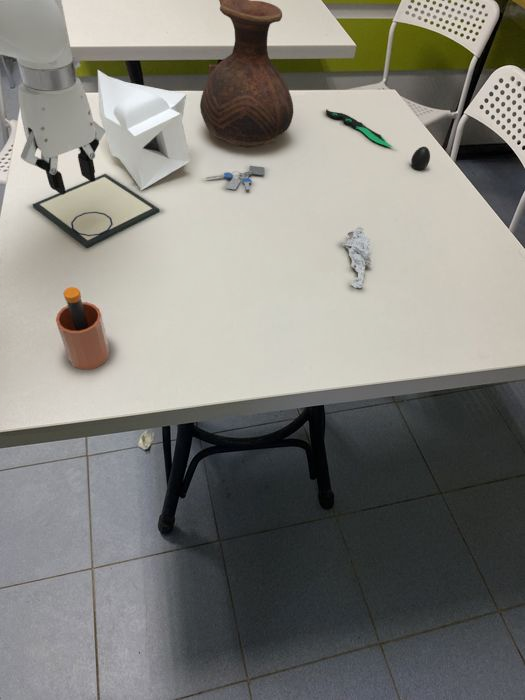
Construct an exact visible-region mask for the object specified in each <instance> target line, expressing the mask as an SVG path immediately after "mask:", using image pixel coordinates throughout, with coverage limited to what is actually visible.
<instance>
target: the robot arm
mask: <svg viewBox="0 0 525 700" xmlns="http://www.w3.org/2000/svg"><path fill="white" fill-rule="evenodd" d="M65 16H66V15H65V11H64V6H63V0H0V56H6V57H10V58H13V59H16V61H17V66H18V68H19V73H20V76H21V80H22V83H20V84H18V102H19V103H18V104H19V110H20V111H19V112H20V116H21V121H22V128H23V131H24V136H25V140H26V141H25V144H24V147H23V148H22V151H21V154H20V158H21V159H20V160H23V161H24V162H25V163H27V164H29V165H32V166H34V167H38V168H39V169H41V170H43V171H45V173H46V177H47V181H48V185H49V187H50V188H51V189H52V190H53V191H56V192H57V193H60V194H61V195H64V194H65V193H66V191H65V190H66V186H65V183H64V179H63V174H62V173H61V171H59V170H58V165H59V164H58V161H59V156H60V155H63V154H66V153H68V152H72V151H73V150H76V149H78V151H79V153H78V154H77V159H78V160H77V161H78V165H79V169H80V174H81V177H84V178H85V179H86V180H87V181H89V180H90V181H91V182H94V181H95V178H96V175H95V174H96V170H95V164H94V159H95V158H96V151H97V149H98V147H99V145H100V141H101V140H102V138H103V136H105V130H104V128H103V126H101V125H99V124H98V123H97V121H95V120H94V118H93V114H92V109H91V106H90V102H89V99H88V96H87V93H86V91H85V89H84V86H83V84H82V81H81V79H80V78H79V77H78V75H77V69H78V68H80V67H81V66H82V63H81V59H80V58H79V57H78V56H73V53H72V47H71V43H70V38H69V31H68V28H67V21H66V17H65ZM37 150H39V151H40V157H38V156H36V153H37Z"/></svg>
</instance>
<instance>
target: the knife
mask: <svg viewBox="0 0 525 700" xmlns="http://www.w3.org/2000/svg"><path fill="white" fill-rule="evenodd" d="M325 113H326V116H328V118H330V119H333V120H339V121H343V124H345V125H347V126H350V127H351V128H353V129H355V130H359V131H361V132H362V133H364V135H365V136H367V137H368V138H369V139H370V140H371V141H373V142H375V143H377V144H379V145H383V146H386V147H389V148H394V146H392V145H391V144H390V143H388V142H387V140H386V139H385V138H384V137H383V136H382V135H381V134H379V133H377V132H376V131H373V130H372V129H371V128H369V127H367V126H366V125H365V124H363V122H362V121H358V120H356V119H355V118H353V117H351V116H350V115H348V114H346V113H343V112H337V111H331V110H328V109H327V108H326V109H325Z"/></svg>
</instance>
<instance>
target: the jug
mask: <svg viewBox="0 0 525 700" xmlns="http://www.w3.org/2000/svg"><path fill="white" fill-rule="evenodd" d="M218 1H219V5H220V6H219V11H220V12H221V13H222V14H223V15H224V16H226V17H228V18H229V19H230V20H231V23H232V25H233V29H234V44H233V49H232V53H231V54H230V55H228V56H226V57H225V58H223V59H222V60H221V61H219V63H217V64H214V63H209V65H208V73H209V74H208V78H207V81H206V83H205V86H204V87H203V90H202V94H201V97H200V103H199V108H200V113H201V118H202V119H203V123H204V124H205V126H206V128H207V129H208V131H209V132H210V133H211V134H212V135H213V136H214V137H216V138H218V139H220V140H223V141H225V142H227V143H229V144H231V145H234V146H237V147H241V148H255V147H259V146H263V145H266V144H268V143H270V142H272V141H274V140H275V139H277V138H278V137H281V135H283V134H284V133H286V131H288V130H289V127H290V126H291V123H292V120H293V117H294V103H293V99H292V98H293V97H292V95H291V92H290V90H289V88H288V86H287V83H286V81H285V80H284V79H285V78H283V75H282V74H281V72H280V71H279V69H278V68H277V67H276V66H275V64H274V63H273V62H272V61H271V59H270V57H269V53H268V35H269V29H270V26H271V25H272V24H274V23H279V22H281V20H282V18H283V11H282V9H280V8H279V7H278V6H277V5H275V4H272V3H270V2H266V1H262V0H218Z"/></svg>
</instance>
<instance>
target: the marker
mask: <svg viewBox="0 0 525 700" xmlns="http://www.w3.org/2000/svg"><path fill="white" fill-rule="evenodd" d="M63 297H64V300H65V302H66V304H67V305H68V308H69V311H70V314H71V318H72V321H73V324H74V328H75V331H80V330H84V329H87V328H89V327H88V323H87V320H86V316H85V312H84V308H83V305H82V302H83V300H82V293H81V291H80V289H79V288H78V287H75V286H71V287H67V288H66V289H65V290H64V291H63Z"/></svg>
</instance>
